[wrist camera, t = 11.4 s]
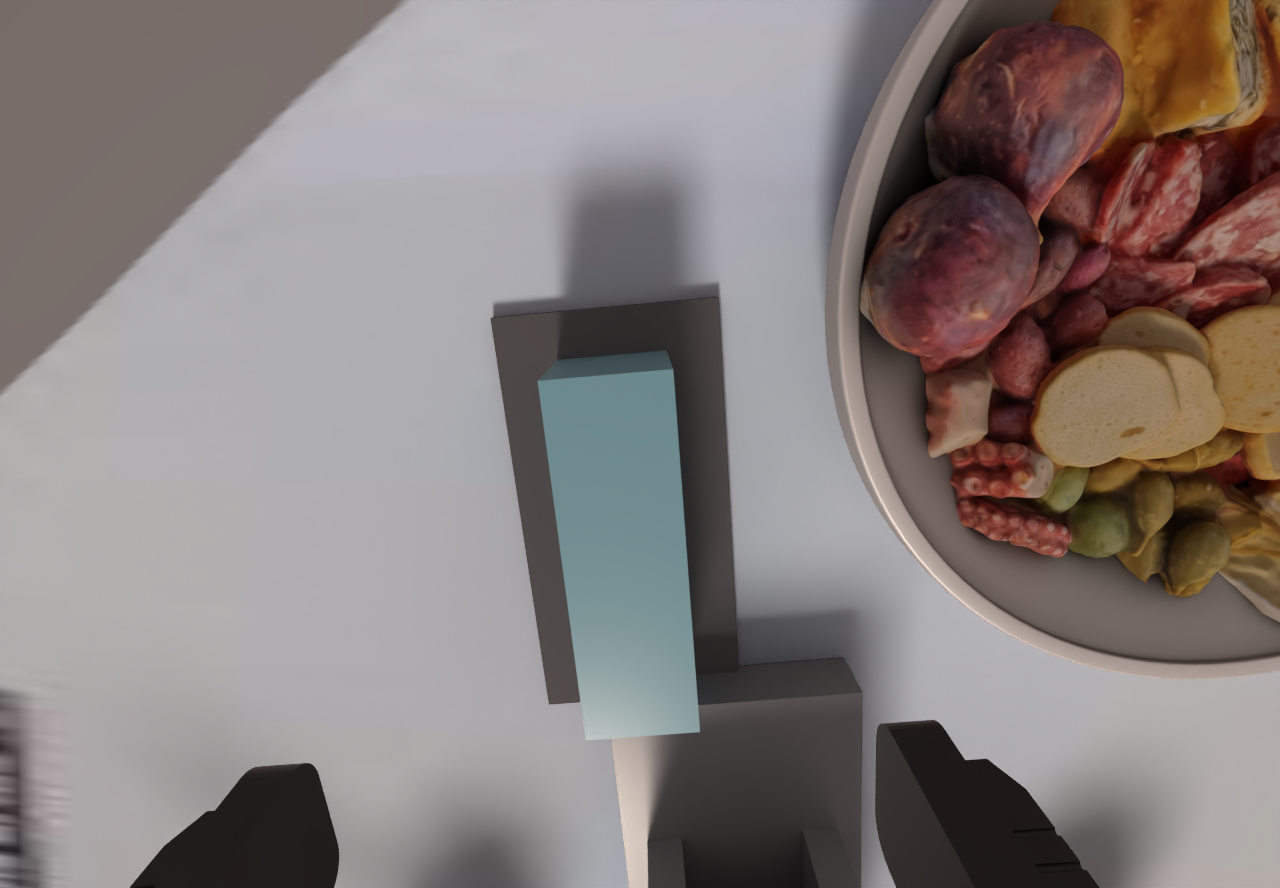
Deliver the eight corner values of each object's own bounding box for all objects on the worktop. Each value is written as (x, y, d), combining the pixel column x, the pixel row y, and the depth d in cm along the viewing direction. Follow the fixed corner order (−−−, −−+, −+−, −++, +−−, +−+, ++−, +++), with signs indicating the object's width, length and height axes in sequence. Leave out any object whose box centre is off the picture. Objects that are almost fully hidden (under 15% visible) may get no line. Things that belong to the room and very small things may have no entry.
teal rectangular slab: (666, 350, 25) (673, 369, 20) (689, 654, 28) (699, 732, 24) (557, 359, 25) (537, 380, 20) (594, 661, 28) (585, 740, 24)
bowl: (1726, -181, 21) (2353, -443, 13) (1419, 613, 29) (1699, 735, 21) (833, -186, 21) (947, -452, 13) (777, 612, 29) (826, 733, 21)
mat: (717, 297, 24) (718, 297, 24) (738, 684, 29) (739, 689, 29) (492, 317, 25) (490, 317, 24) (550, 698, 29) (549, 704, 29)
